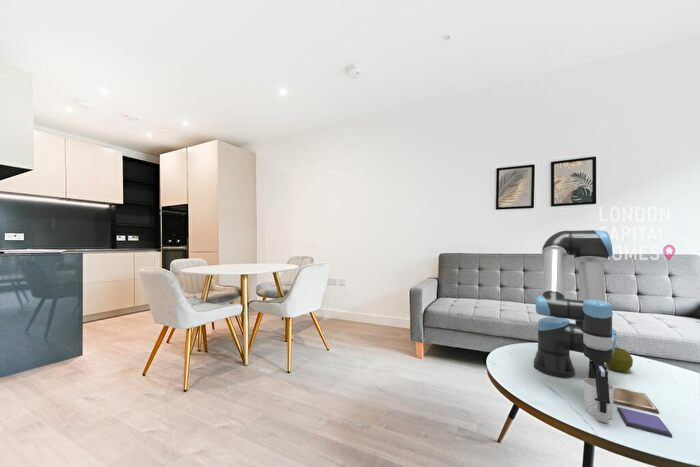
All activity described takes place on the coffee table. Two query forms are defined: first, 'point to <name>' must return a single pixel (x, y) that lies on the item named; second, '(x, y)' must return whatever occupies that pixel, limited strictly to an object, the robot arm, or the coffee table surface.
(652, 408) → the brown square coaster
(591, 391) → the white cup
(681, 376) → the coffee table surface
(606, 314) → the robot arm
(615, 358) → the apple
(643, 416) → the ink pad
